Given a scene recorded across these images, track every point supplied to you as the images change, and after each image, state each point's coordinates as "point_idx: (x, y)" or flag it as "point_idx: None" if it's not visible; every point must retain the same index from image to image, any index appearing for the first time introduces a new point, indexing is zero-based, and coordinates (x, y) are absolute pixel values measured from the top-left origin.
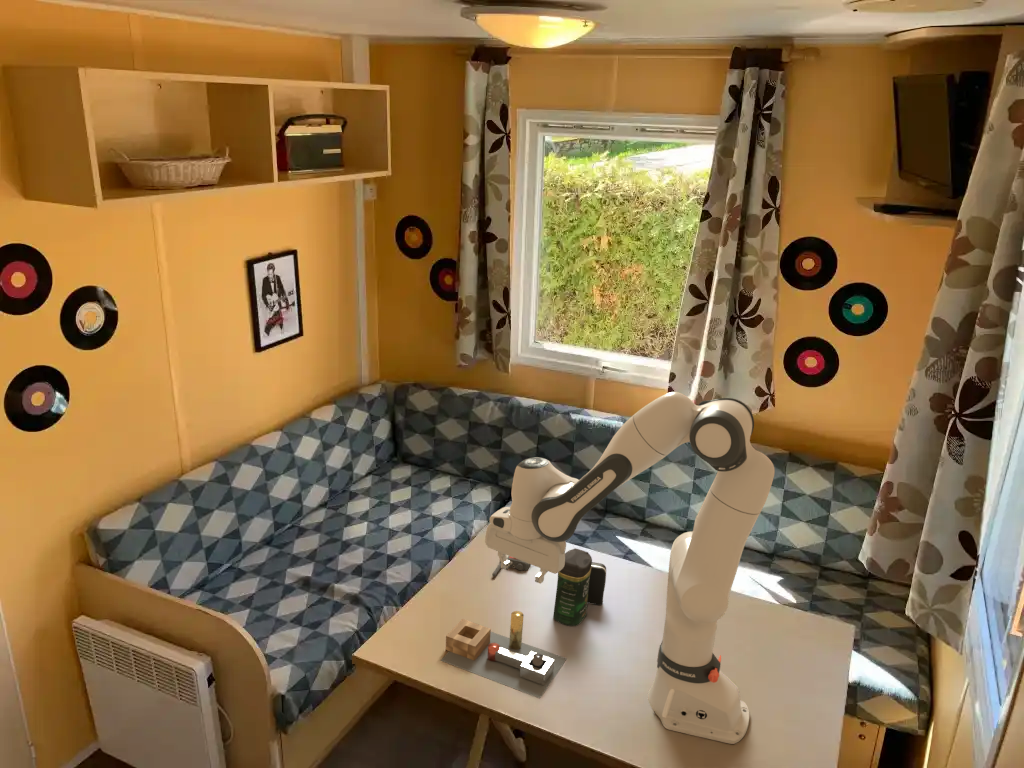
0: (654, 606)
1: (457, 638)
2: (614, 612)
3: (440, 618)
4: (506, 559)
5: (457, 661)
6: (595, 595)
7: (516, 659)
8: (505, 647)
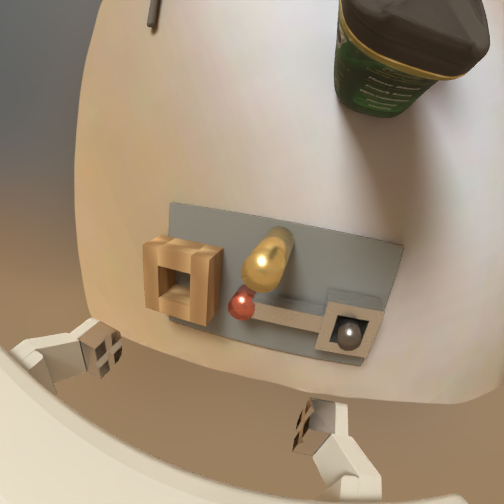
0: (498, 21)
1: (165, 309)
2: None
3: (115, 202)
4: (75, 347)
5: None
6: None
7: (300, 328)
8: None
